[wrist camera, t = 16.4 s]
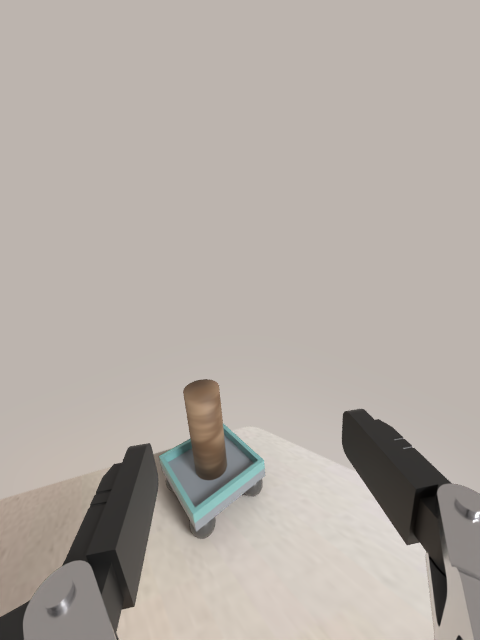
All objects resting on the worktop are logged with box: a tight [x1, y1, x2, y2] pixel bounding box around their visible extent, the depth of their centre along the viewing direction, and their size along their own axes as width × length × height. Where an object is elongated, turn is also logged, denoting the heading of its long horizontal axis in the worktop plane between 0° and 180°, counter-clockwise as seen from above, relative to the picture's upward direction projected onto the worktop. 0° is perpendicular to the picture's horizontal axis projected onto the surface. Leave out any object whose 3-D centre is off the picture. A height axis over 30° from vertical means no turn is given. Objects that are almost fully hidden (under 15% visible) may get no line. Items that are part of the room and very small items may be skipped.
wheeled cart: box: [159, 424, 265, 539], centre depth 40 cm, size 12×12×6 cm
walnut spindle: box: [183, 379, 227, 480], centre depth 37 cm, size 5×5×14 cm
